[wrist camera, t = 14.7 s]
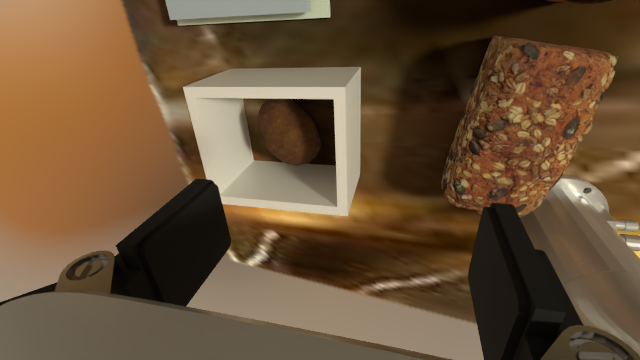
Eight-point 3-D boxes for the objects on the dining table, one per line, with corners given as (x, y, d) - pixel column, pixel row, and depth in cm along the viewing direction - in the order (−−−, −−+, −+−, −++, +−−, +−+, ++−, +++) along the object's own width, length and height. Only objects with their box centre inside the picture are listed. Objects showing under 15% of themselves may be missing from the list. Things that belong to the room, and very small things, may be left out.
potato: (291, 79, 43) (269, 94, 37) (337, 134, 46) (325, 157, 39) (258, 112, 47) (232, 131, 40) (302, 161, 49) (285, 186, 43)
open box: (360, 66, 40) (345, 87, 31) (360, 174, 48) (347, 216, 39) (230, 68, 45) (182, 86, 36) (248, 166, 52) (212, 202, 43)
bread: (487, 30, 35) (510, 39, 27) (591, 46, 34) (651, 61, 25) (435, 173, 45) (440, 214, 37) (514, 191, 43) (539, 237, 35)
